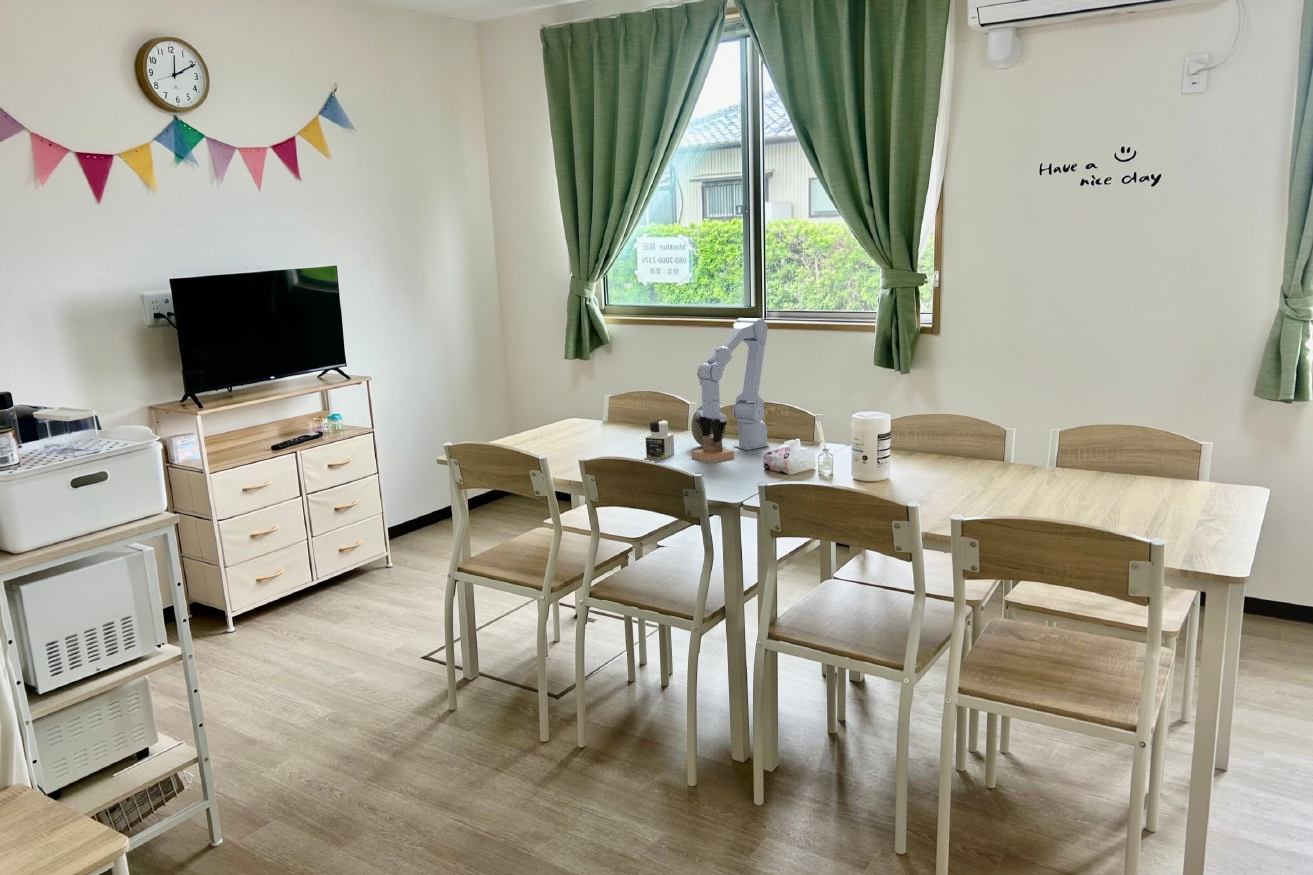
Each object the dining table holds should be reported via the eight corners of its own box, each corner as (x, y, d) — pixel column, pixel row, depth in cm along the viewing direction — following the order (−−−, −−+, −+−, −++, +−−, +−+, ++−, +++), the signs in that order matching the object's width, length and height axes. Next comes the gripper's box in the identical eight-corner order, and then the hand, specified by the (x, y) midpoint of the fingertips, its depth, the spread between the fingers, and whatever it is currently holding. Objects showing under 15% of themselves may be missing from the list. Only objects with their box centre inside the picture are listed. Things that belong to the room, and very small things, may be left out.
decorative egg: (724, 450, 326) (722, 407, 323) (690, 450, 328) (688, 407, 325) (727, 443, 338) (725, 401, 335) (694, 443, 340) (692, 401, 337)
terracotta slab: (716, 454, 323) (716, 446, 322) (734, 459, 314) (733, 451, 314) (691, 459, 318) (691, 450, 317) (708, 464, 309) (708, 455, 309)
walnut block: (714, 448, 319) (713, 433, 318) (722, 450, 315) (721, 435, 314) (702, 450, 316) (702, 436, 315) (711, 453, 312) (710, 438, 311)
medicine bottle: (646, 457, 321) (644, 422, 319) (656, 452, 328) (654, 418, 325) (665, 458, 318) (663, 423, 316) (674, 454, 324) (673, 419, 322)
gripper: (688, 398, 316) (689, 438, 319) (713, 403, 304) (715, 445, 307) (705, 396, 320) (707, 435, 322) (731, 401, 308) (732, 442, 310)
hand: (712, 440), depth 315 cm, fingers open, 5 cm apart
